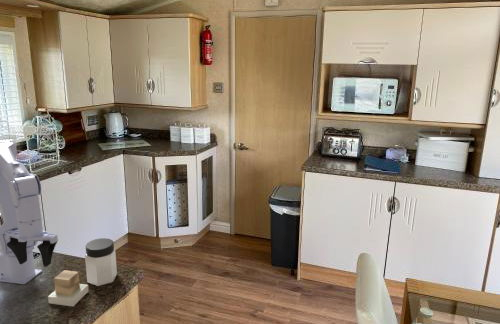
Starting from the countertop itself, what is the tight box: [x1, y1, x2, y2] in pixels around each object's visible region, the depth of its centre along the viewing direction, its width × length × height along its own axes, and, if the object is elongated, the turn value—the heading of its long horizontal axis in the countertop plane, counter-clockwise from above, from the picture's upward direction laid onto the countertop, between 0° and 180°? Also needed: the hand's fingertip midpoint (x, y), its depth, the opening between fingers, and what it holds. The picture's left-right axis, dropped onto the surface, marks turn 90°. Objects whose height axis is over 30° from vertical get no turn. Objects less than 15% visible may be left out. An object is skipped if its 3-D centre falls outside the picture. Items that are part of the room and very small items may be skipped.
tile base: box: [47, 283, 89, 307], centre depth 108 cm, size 8×8×2 cm
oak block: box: [53, 269, 81, 296], centre depth 107 cm, size 4×4×5 cm
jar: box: [84, 237, 118, 287], centre depth 117 cm, size 9×8×12 cm
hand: (35, 263), depth 106 cm, fingers open, 7 cm apart
